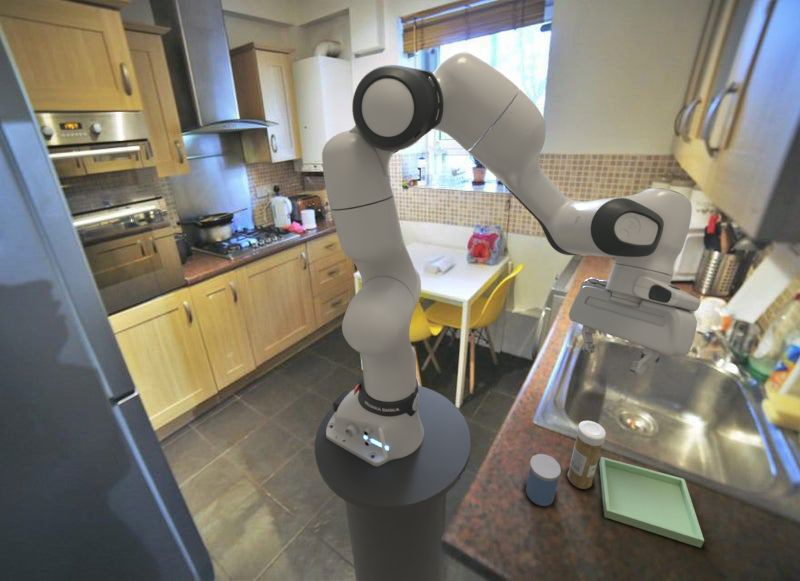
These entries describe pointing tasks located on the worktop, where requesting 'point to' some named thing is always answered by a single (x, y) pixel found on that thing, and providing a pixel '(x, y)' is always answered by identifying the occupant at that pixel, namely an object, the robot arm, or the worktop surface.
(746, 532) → the worktop surface
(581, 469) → the sprinkles bottle
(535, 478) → the blue tin
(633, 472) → the sage tray
